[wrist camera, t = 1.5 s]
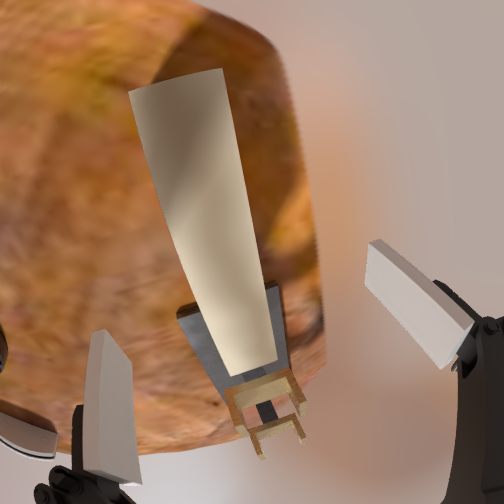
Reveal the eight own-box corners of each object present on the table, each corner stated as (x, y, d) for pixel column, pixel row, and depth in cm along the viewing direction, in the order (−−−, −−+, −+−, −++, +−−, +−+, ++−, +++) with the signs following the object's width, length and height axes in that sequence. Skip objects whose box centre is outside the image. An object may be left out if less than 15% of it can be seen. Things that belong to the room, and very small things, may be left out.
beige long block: (215, 329, 24) (230, 376, 20) (139, 97, 13) (128, 91, 9) (256, 315, 25) (277, 360, 20) (203, 79, 14) (222, 67, 9)
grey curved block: (-2, 417, 30) (-8, 446, 21) (-3, 405, 30) (-11, 434, 22) (58, 440, 39) (58, 470, 30) (58, 429, 39) (58, 460, 30)
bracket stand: (228, 405, 44) (250, 468, 33) (176, 313, 30) (196, 419, 19) (289, 383, 46) (319, 442, 35) (274, 280, 32) (332, 370, 21)
